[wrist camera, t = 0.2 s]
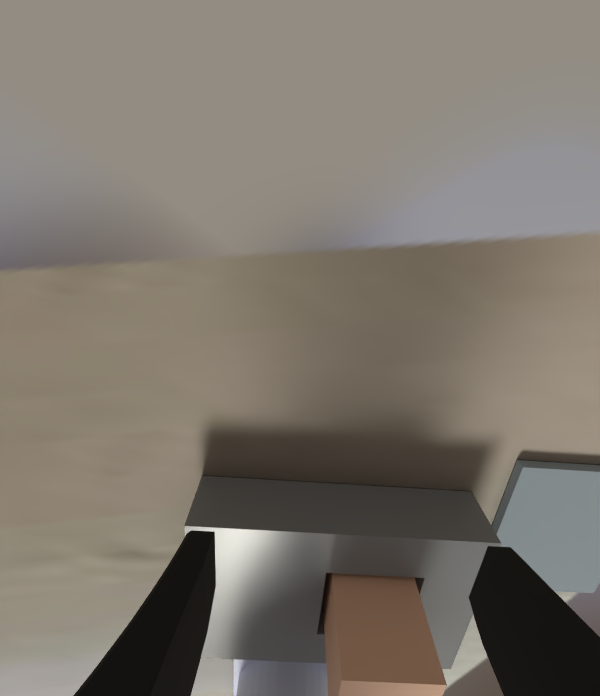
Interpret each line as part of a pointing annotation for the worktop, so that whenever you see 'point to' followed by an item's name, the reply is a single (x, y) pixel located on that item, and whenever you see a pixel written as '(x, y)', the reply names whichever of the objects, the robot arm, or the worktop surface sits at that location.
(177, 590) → the robot arm
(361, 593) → the plug
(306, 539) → the plate
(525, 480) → the mat
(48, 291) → the worktop surface
